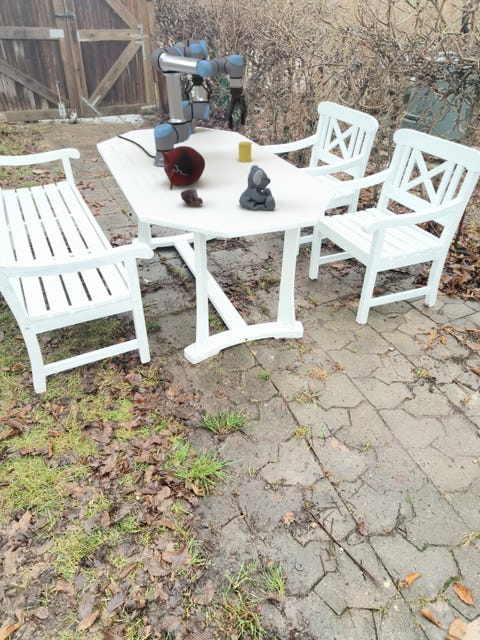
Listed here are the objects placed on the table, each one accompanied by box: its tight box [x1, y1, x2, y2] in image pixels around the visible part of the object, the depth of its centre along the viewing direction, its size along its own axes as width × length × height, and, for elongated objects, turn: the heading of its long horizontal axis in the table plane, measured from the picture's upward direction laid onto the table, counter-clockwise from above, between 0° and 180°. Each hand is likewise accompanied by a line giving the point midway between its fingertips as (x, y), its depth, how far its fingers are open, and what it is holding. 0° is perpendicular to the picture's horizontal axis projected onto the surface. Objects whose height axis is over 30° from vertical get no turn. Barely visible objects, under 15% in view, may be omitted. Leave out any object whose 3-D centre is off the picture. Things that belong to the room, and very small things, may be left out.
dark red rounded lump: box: [161, 145, 206, 190], centre depth 255 cm, size 21×24×25 cm
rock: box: [180, 188, 204, 207], centre depth 229 cm, size 12×9×10 cm
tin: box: [238, 141, 252, 163], centre depth 297 cm, size 8×8×11 cm
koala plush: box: [238, 164, 276, 211], centre depth 224 cm, size 17×18×20 cm
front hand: (236, 126), depth 266 cm, fingers open, 13 cm apart
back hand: (198, 105), depth 317 cm, fingers open, 13 cm apart
